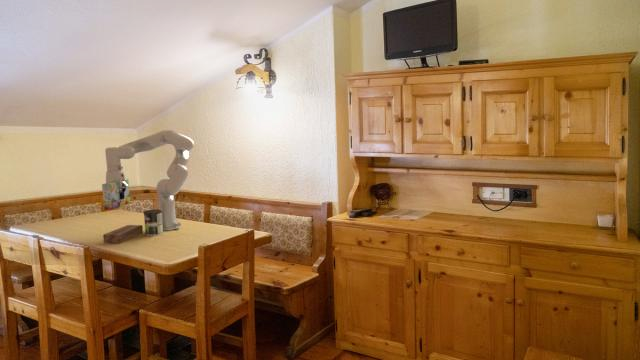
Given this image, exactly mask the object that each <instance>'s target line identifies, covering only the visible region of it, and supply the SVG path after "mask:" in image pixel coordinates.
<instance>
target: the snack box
mask: <svg viewBox="0 0 640 360" xmlns="http://www.w3.org/2000/svg"><path fill="white" fill-rule="evenodd" d="M125 181H126V184H127V185H128V188H127V189H126V190H125V192H124V196H125V197H124V199H122V200H121V199H120V193H121V192H120V190H119V187H118V182H109V183H106V182H105V183H102V184H101V188H102V189H101V190H102V199H103V201H102V202H103V209H104V211H113V210H115V209H116V210H117V209H119V208H122V207H124V206H126V205H129V204H131V196H130V186H129V179H128V178H127V179H126V178H125ZM123 188H124V187H123Z"/></svg>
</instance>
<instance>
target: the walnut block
mask: <svg viewBox="0 0 640 360" xmlns="http://www.w3.org/2000/svg"><path fill="white" fill-rule="evenodd" d="M143 227H144V226H143V225H142V224H138V225H137V224H126V225H124V226H121V227H119V228H116V229H115V230H111V231H108V232H106V233H104V234H103V235H102V239H103V244H110V245H111V244H113V245H114V244H115V245H116V244H119V245H121V244H123V243H124V242H127V241H129V240H132V239H133V238H135V237H138V236H141V235H143V234H144V231H143V230H144V229H143Z"/></svg>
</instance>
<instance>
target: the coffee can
mask: <svg viewBox="0 0 640 360" xmlns="http://www.w3.org/2000/svg"><path fill="white" fill-rule="evenodd" d="M143 216H144V217H143V218H144V233H145V234H144V235H145V236H149V237H150V236H151V237H155V236H160V235H162V234H164V230H163V226H162V210H159V209H148V210H144V211H143Z"/></svg>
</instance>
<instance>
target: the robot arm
mask: <svg viewBox="0 0 640 360" xmlns="http://www.w3.org/2000/svg"><path fill="white" fill-rule="evenodd" d="M194 144H195V142H194V141H193V139H191V138H190V137H188V136H186V135H184V134H181V133H179V132H177V131H174V130H170V129H169V130H168V129H166V130H162V131H161V130H160V131H158V132H156V133H153V134H150V135H148V136H145V137H142V138H139V139H136V140H132V141H130V142H127V143H125V144H122V145H119V146H118V147H116V146H115V147H114V146H113V147H112V146H111V147H106V148H105V150H104V151H105V152H104V153H105V162H106V170H107V171H106V172H105V173H106V174H105V183H109V182H118V187H119V190H120V192H121V193H120V199H121V200H122V199H124V197H125V196H124V192H125V190H126V189H127V188H128V185H127V184H126V181H125V179H126V177H125V173H124V171H123V168H124V167H123V166H122V163H121V160H130V159H132V158H134V156H135V155H136V154H138V153H143V152H150V151H153V150H156V149H157V148H160V147H163V146H165V145H172V146H173V147H174V149H175V150H174V151H175V155H174V158H173V159H172V161H171V164H169V166H168V168H167V170H166V176H167V177H168V178H169V179H168V178H163V179H160V180H159V181H158V182H157V183H156V194H157V198H158V210H162V226H163V231H173V230H177V229H178V228H180V227H182V225H183V224H182V222H178V220H176V219H177V218H176V202H175V196H176V195H177V194H178V193H179V192H180V190H181V189H182V187H183V185H184V184H185V182H186V180H187V179H188V175H189V170H188V168H187V167H186V166H187V164H188V162H189V159H190V153H189V152H190V151H191V150H192V149H194V146H195V145H194ZM123 187H124V188H123Z"/></svg>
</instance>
